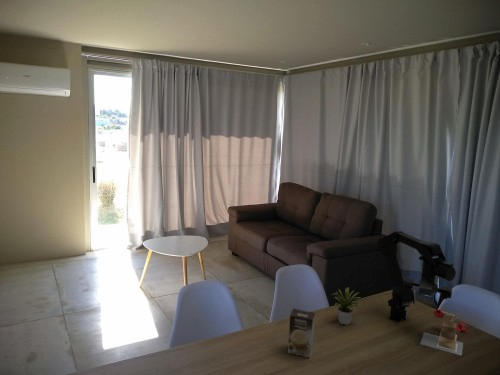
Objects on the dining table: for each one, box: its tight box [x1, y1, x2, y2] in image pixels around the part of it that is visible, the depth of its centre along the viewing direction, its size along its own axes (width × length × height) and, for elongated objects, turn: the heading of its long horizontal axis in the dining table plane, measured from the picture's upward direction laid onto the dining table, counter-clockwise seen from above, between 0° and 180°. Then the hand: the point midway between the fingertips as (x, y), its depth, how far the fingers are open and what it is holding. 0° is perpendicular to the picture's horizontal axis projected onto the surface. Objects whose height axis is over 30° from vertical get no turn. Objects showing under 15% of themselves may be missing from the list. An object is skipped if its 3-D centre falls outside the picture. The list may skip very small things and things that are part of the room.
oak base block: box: [438, 331, 458, 350], centre depth 156 cm, size 6×6×4 cm
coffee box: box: [287, 308, 316, 358], centre depth 149 cm, size 9×6×16 cm
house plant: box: [331, 286, 364, 326], centre depth 173 cm, size 14×14×16 cm
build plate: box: [419, 332, 464, 356], centre depth 157 cm, size 15×11×1 cm
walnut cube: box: [440, 319, 458, 340], centre depth 155 cm, size 5×5×5 cm
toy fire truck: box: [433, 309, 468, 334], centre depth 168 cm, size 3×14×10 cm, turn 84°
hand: (425, 306), depth 165 cm, fingers open, 9 cm apart
